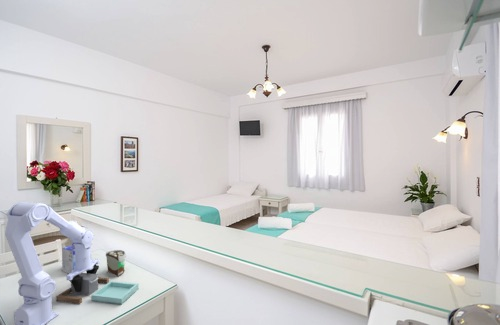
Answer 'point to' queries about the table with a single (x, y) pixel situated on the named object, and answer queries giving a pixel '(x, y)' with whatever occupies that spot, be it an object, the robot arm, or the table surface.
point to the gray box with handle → (87, 284)
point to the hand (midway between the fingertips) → (84, 287)
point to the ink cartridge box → (68, 258)
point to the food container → (116, 262)
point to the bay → (76, 300)
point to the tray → (115, 292)
